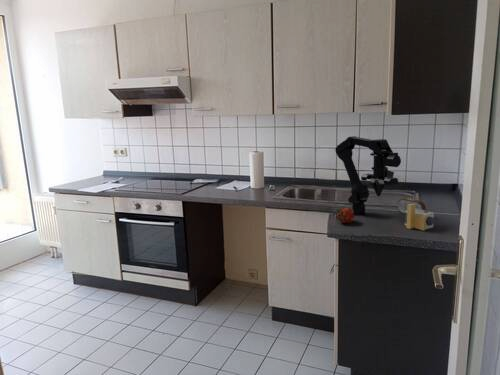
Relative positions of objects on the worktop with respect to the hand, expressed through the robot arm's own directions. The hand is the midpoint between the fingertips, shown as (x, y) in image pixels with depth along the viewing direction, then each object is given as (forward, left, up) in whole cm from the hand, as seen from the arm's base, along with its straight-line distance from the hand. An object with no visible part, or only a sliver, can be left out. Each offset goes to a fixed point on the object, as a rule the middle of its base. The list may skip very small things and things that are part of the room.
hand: (378, 196), depth 193 cm
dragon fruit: (-17, -3, -12) cm, 21 cm away
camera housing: (+15, -14, -12) cm, 23 cm away
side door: (+11, -19, -12) cm, 25 cm away
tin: (+19, +6, -12) cm, 24 cm away
